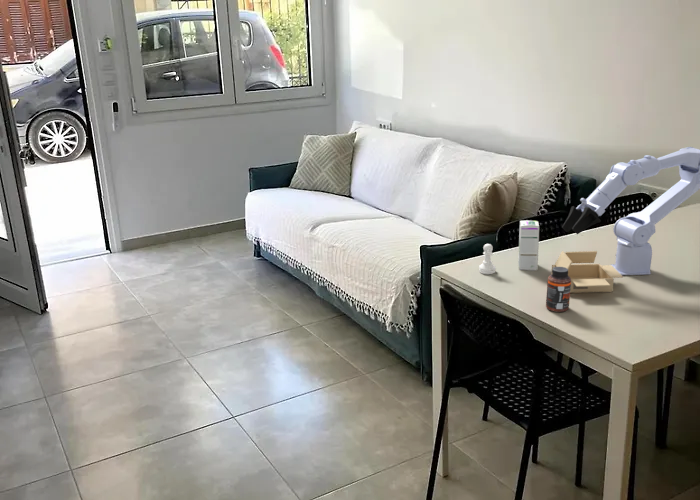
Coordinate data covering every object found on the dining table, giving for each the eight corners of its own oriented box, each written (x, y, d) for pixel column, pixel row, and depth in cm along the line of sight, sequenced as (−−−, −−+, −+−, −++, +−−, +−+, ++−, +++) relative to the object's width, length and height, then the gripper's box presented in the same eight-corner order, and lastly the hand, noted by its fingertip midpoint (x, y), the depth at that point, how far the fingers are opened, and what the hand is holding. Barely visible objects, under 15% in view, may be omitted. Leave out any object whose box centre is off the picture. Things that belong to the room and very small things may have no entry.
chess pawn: (480, 274, 201) (481, 247, 198) (477, 268, 205) (478, 241, 202) (496, 274, 200) (498, 246, 197) (493, 268, 205) (495, 241, 202)
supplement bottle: (565, 314, 172) (568, 274, 168) (542, 310, 175) (545, 270, 171) (571, 306, 177) (574, 267, 173) (549, 302, 180) (552, 263, 176)
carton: (608, 276, 196) (609, 263, 194) (629, 298, 180) (630, 284, 179) (551, 277, 196) (551, 264, 195) (566, 299, 181) (567, 285, 180)
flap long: (556, 264, 193) (563, 251, 192) (564, 275, 185) (572, 262, 184) (554, 264, 193) (562, 250, 192) (563, 275, 185) (571, 261, 183)
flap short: (593, 261, 194) (596, 251, 191) (593, 262, 194) (597, 251, 190) (562, 262, 194) (565, 251, 191) (563, 263, 194) (565, 252, 191)
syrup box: (537, 270, 202) (540, 225, 197) (518, 270, 203) (520, 225, 198) (536, 264, 207) (539, 220, 202) (517, 263, 208) (519, 219, 203)
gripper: (583, 186, 195) (550, 219, 196) (604, 187, 181) (569, 222, 181) (599, 203, 196) (567, 235, 196) (621, 204, 181) (587, 240, 182)
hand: (569, 230), depth 189 cm, fingers open, 7 cm apart
